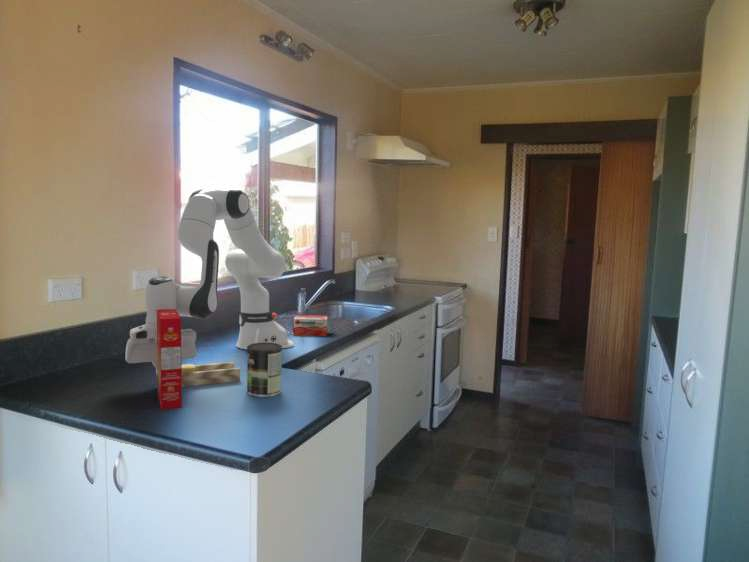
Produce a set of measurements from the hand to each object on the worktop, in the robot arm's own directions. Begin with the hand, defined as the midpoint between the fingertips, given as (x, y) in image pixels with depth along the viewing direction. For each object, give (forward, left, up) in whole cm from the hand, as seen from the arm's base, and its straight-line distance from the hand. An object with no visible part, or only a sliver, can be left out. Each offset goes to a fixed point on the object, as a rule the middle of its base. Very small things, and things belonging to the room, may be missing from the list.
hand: (161, 374), depth 175 cm
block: (-7, 0, -3) cm, 8 cm away
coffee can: (-27, +18, -4) cm, 33 cm away
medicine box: (-70, -55, -4) cm, 89 cm away
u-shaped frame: (-13, 0, -3) cm, 14 cm away
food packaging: (0, +16, -4) cm, 16 cm away
